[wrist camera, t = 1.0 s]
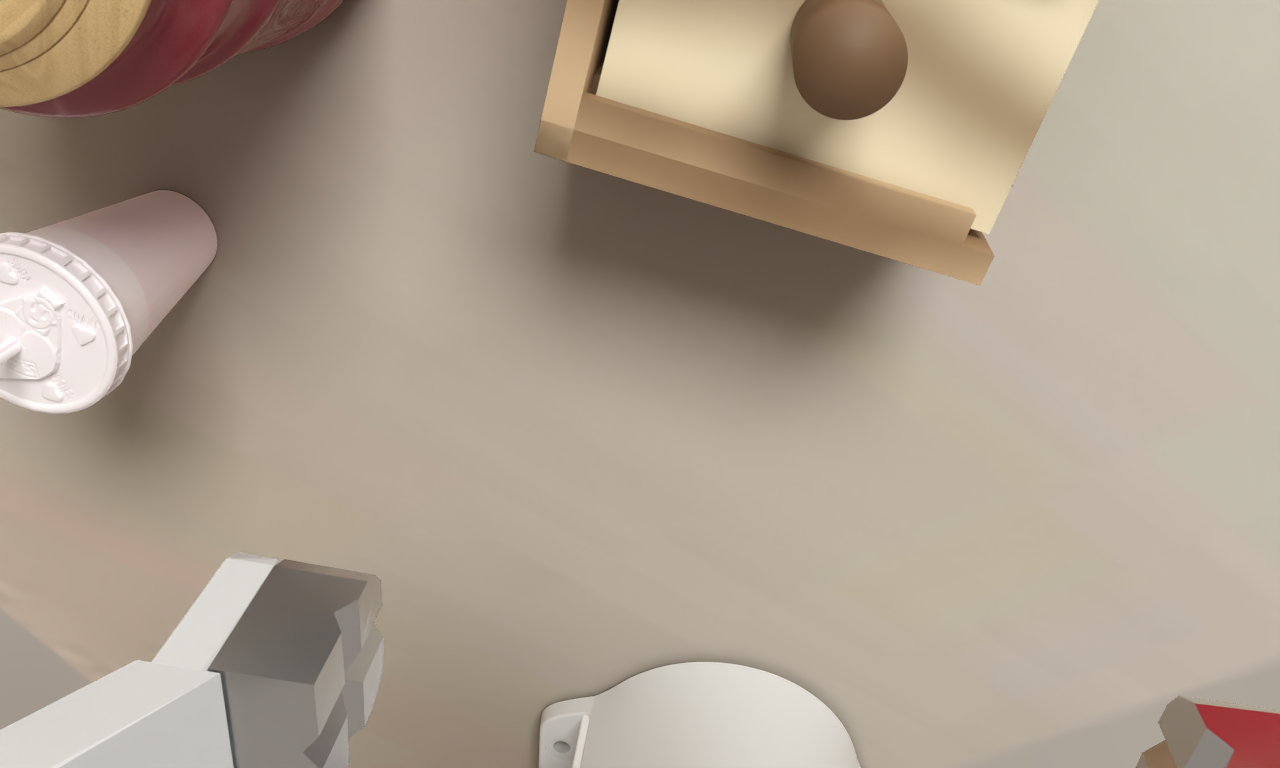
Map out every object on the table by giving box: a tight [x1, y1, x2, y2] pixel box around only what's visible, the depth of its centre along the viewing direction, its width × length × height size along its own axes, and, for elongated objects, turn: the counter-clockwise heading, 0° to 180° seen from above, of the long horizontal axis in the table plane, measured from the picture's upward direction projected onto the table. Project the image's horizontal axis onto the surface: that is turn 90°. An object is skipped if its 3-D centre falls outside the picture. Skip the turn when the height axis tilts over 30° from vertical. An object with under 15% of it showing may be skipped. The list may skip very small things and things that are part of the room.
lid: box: [596, 0, 1099, 234], centre depth 27 cm, size 8×13×5 cm
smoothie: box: [0, 190, 217, 414], centre depth 36 cm, size 6×6×14 cm
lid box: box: [534, 0, 994, 285], centre depth 31 cm, size 11×14×8 cm
